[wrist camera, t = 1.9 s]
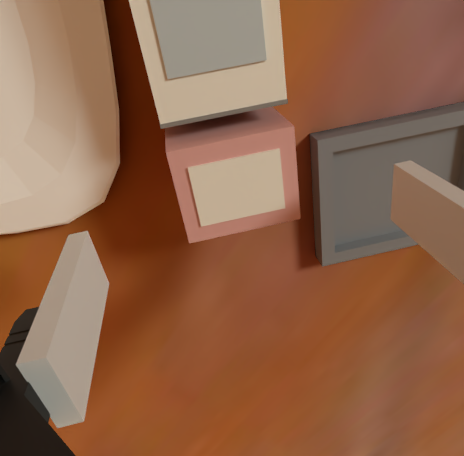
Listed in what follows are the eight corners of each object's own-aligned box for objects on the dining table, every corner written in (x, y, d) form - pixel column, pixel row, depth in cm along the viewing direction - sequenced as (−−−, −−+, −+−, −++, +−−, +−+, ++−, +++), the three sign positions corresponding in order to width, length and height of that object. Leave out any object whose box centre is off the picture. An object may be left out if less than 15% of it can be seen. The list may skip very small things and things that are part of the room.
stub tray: (309, 133, 25) (317, 140, 24) (479, 98, 26) (495, 103, 25) (315, 255, 30) (322, 266, 29) (456, 223, 31) (469, 232, 30)
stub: (164, 115, 23) (166, 153, 17) (260, 95, 24) (294, 126, 17) (182, 188, 26) (189, 244, 20) (268, 170, 26) (301, 219, 20)
